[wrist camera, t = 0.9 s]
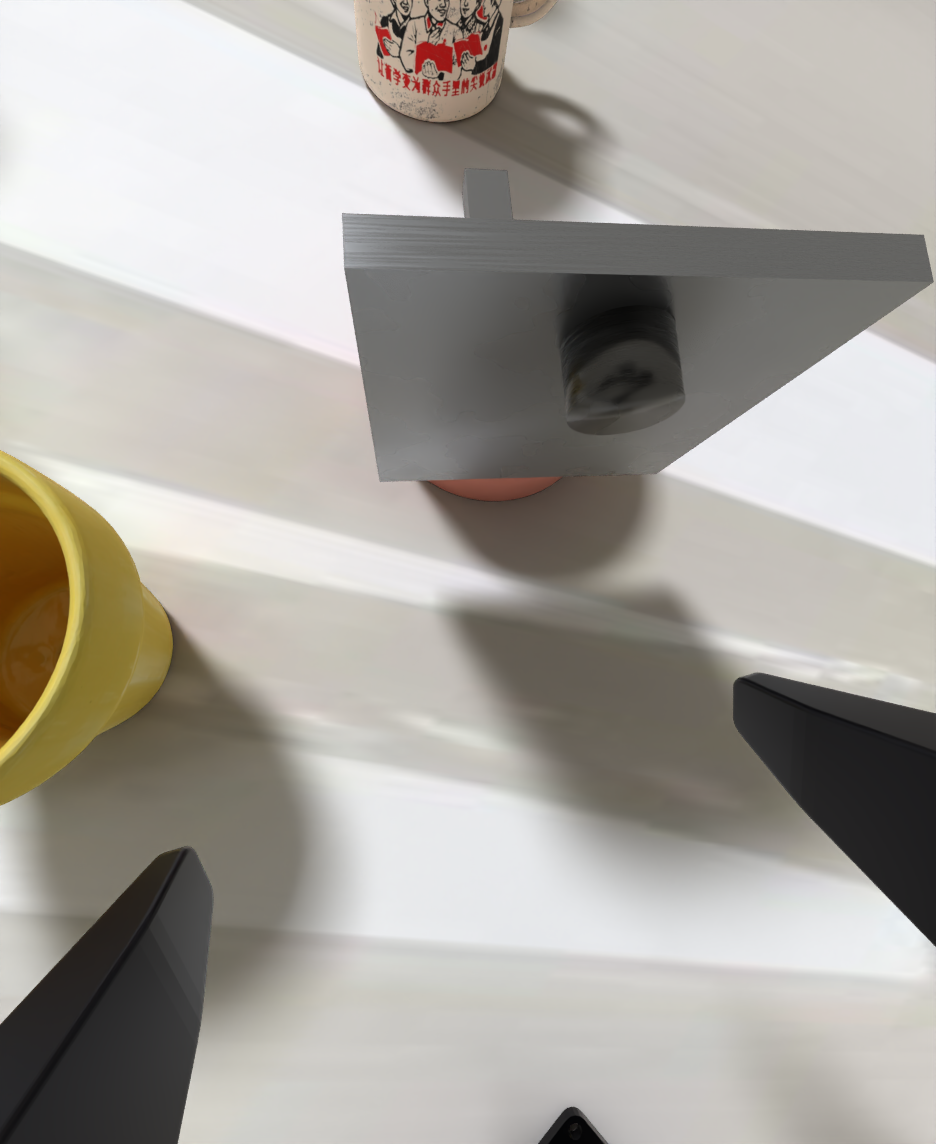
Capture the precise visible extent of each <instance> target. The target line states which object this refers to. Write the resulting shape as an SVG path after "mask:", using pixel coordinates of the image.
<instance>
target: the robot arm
mask: <svg viewBox="0 0 936 1144" xmlns="http://www.w3.org/2000/svg"><path fill="white" fill-rule="evenodd" d="M733 720H734V724H735V726H736V728H737V730H738V732H739V733H740V734H741V736H742V737H743V738H744V739H745V740H746V742H747V743H748V744H749V745H750V747H751V748H752V749H753V750H754V752H755V753H756V754H757V755H758V756H759V758H760V759H761V760H762V761H763V763H764V764H765V765H766V766H767V767H768V769H769V770H770V771H771V772H772V774H773V775H774V776H775V777H776V779H777V780H778V781H779V782H780V783H781V785H782V786H783V787H784V788H785V790H786V791H787V792H788V793H789V794H790V796H791V797H792V798H793V799H794V800H795V801H796V803H797V804H798V805H799V806H800V807H801V808H802V809H803V810H804V812H805V813H806V814H807V815H808V816H809V817H810V818H811V819H812V820H813V821H814V822H815V823H816V824H817V825H818V826H819V827H820V828H821V829H822V830H823V831H824V832H825V833H826V834H827V836H828V837H829V838H830V839H831V840H832V841H833V842H834V843H835V844H836V845H837V846H838V847H839V848H840V849H841V850H842V851H843V852H844V853H845V854H846V855H847V856H848V857H849V858H850V859H851V860H852V861H853V862H854V863H855V864H856V865H857V866H858V867H859V868H860V869H861V871H862V872H863V873H864V874H865V875H866V876H867V877H868V878H869V879H870V880H871V881H872V882H873V883H874V884H875V885H876V886H877V887H878V888H879V889H880V890H881V891H882V892H883V893H884V894H885V895H886V896H887V897H888V898H889V899H890V900H891V901H892V902H893V903H894V904H895V905H896V907H897V908H898V909H899V910H900V911H901V912H902V913H903V914H904V915H905V916H906V917H907V918H908V919H909V920H910V921H911V922H912V923H913V924H914V925H915V926H916V927H917V928H918V929H919V930H920V931H921V932H922V933H923V934H924V935H925V936H926V937H927V938H928V939H929V940H930V941H931V943H932V944H933V945H934V946H935V947H936V713H932V712H927V711H923V710H919V709H915V708H910V707H906V706H902V705H897V704H893V703H889V702H884V701H880V700H876V699H872V698H867V697H863V696H859V695H854V694H850V693H846V692H841V691H837V690H833V689H829V688H824V687H820V686H816V685H811V684H807V683H803V682H798V681H794V680H790V679H786V678H781V677H777V676H773V675H768V674H764V673H753V674H749V675H746V676H743V677H739V678H738V679H736V680H735V682H734V685H733ZM212 912H213V890H212V886H211V884H210V881H209V879H208V877H207V875H206V873H205V871H204V868H203V866H202V864H201V862H200V860H199V858H198V855H197V853H196V852H195V850H194V849H193V848H192V847H188V846H185V847H182V848H178V849H175V850H172V851H169V852H165V853H163V854H161V855H159V856H158V857H157V858H156V859H155V860H154V861H153V862H152V863H151V864H150V865H149V866H148V867H147V868H146V869H145V870H144V871H143V872H142V873H141V874H140V876H139V877H138V878H137V879H136V880H135V881H134V882H133V883H132V884H131V885H130V886H129V887H128V888H127V889H126V890H125V892H124V893H123V894H122V895H121V896H120V897H119V898H118V899H117V900H116V901H115V902H114V903H113V904H112V905H111V907H110V908H109V909H108V910H107V911H106V912H105V913H104V914H103V915H102V916H101V917H100V918H99V919H98V920H97V922H96V923H95V924H94V925H93V926H92V927H91V928H90V929H89V930H88V931H87V932H86V933H85V934H84V935H83V937H82V938H81V939H80V940H79V941H78V942H77V943H76V944H75V945H74V946H73V947H72V948H71V949H70V950H69V951H68V953H67V954H66V955H65V956H64V957H63V958H62V959H61V960H60V961H59V962H58V963H57V964H56V965H55V966H54V968H53V969H52V970H51V971H50V972H49V973H48V974H47V975H46V976H45V977H44V978H43V979H42V980H41V981H40V983H39V984H38V985H37V986H36V987H35V988H34V989H33V990H32V991H31V992H30V993H29V994H28V995H27V996H26V997H25V999H24V1000H23V1001H22V1002H21V1003H20V1004H19V1005H18V1006H17V1007H16V1008H15V1009H14V1010H13V1011H12V1012H11V1014H10V1015H9V1016H8V1017H7V1018H6V1019H5V1020H4V1021H3V1022H2V1023H1V1024H0V1144H178V1139H179V1134H180V1129H181V1124H182V1119H183V1114H184V1109H185V1104H186V1099H187V1094H188V1089H189V1084H190V1079H191V1073H192V1068H193V1063H194V1058H195V1053H196V1048H197V1043H198V1037H199V1031H200V1026H201V1019H202V1011H203V1002H204V993H205V982H206V972H207V962H208V952H209V942H210V932H211V922H212ZM573 1123H577V1124H578V1127H577V1129H576V1130H574V1131H570V1130H569V1128H570V1126H571V1125H572V1124H573ZM538 1144H608V1143H607V1142H606V1141H605V1140H604V1138H603V1137H602V1136H601V1135H600V1134H599V1132H598V1131H597V1130H596V1129H595V1127H594V1126H593V1125H592V1124H591V1123H590V1121H589V1120H588V1119H587V1118H586V1117H585V1115H584V1114H583V1113H582V1112H581V1111H580V1110H579V1109H578V1108H575V1107H569V1108H567V1109H566V1110H564V1111H563V1112H562V1114H561V1115H560V1116H559V1117H558V1119H557V1120H556V1121H555V1123H554V1124H553V1125H552V1127H551V1128H550V1129H549V1130H548V1132H547V1133H546V1134H545V1136H544V1137H543V1138H542V1139H541V1141H540V1142H539V1143H538Z"/></svg>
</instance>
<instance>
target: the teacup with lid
mask: <svg viewBox="0 0 936 1144" xmlns="http://www.w3.org/2000/svg"><path fill="white" fill-rule="evenodd" d="M556 2H557V0H523V1H519V2H513V0H354V9H355V22H356V34H357V46H358V58H359V65H360V69H361V72H362V74H363V77H364V79H365V81H366V83H367V84H368V86H369V87H370V89H371V90H372V91H373V92H374V94H375V95H376V96H377V97H378V98H379V99H380V100H382V101H383V102H384V103H385V104H387V105H388V106H389V107H391V108H393V109H394V110H396V111H398V112H400V113H402V114H404V115H407V116H409V117H412V118H415V119H419V120H424V121H430V122H451V121H457V120H462V119H465V118H468V117H470V116H473V115H475V114H476V113H478V112H480V111H481V110H483V109H484V108H485V107H486V106H487V105H488V104H489V103H490V102H491V101H492V100H493V98H494V97H495V95H496V94H497V92H498V90H499V87H500V84H501V79H502V74H503V67H504V60H505V54H506V47H507V40H508V34H509V28H516V27H523V26H527V25H530V24H532V23H535V22H536V21H538V20H540V19H541V18H542V17H543V16H545V15H546V14H547V13H548V12H549V11H550V9H551V8H552V7H553V6H554V4H555V3H556Z"/></svg>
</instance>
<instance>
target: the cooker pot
mask: <svg viewBox="0 0 936 1144" xmlns="http://www.w3.org/2000/svg"><path fill="white" fill-rule="evenodd" d="M462 195H463V205H464V216H465V218H481V219H508V220H513V216H512V207H511V199H510V190H509V182H508V174H507V170H487V169H467V168H465V172H464V182H463V191H462ZM560 478H562V477H531V478H496V479H460V480H427V481H429V482H430V483H432V484H434V485H436V486H437V487H439V488H441V489H443V490H445V491H448V492H450V493H453V494H455V495H458V496H462V497H466V498H469V499H475V500H482V501H505V500H514V499H518V498H522V497H527V496H529V495H532V494H535V493H537V492H540V491H542V490H543V489H545V488H547V487H549V486H551V485H552V484H554V483H555V482H556V481H558V480H559V479H560Z"/></svg>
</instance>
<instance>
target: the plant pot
mask: <svg viewBox="0 0 936 1144" xmlns="http://www.w3.org/2000/svg"><path fill="white" fill-rule="evenodd" d="M172 651H173V637H172V631H171V626H170V623H169V620H168V617H167V615H166V613H165V611H164V609H163V607H162V606H161V604H160V603H159V601H158V600H157V599H156V598H155V597H154V595H153V594H152V593H151V592H150V591H149V590H148V589H147V588H146V587H145V586H144V585H143V584H142V583H141V582H140V578H139V575H138V572H137V569H136V566H135V563H134V561H133V559H132V557H131V555H130V553H129V551H128V549H127V547H126V546H125V544H124V542H123V541H122V539H121V538H120V536H119V535H118V534H117V532H116V531H115V530H114V529H113V527H112V526H111V525H110V524H109V523H108V522H107V521H106V520H105V519H104V518H103V517H102V516H101V515H100V514H99V513H98V512H97V511H96V510H94V509H93V508H92V507H90V506H89V505H88V504H86V503H85V502H84V501H82V500H81V499H80V498H78V497H77V496H75V495H74V494H73V493H71V492H70V491H68V490H67V489H65V488H64V487H62V486H61V485H59V484H57V483H56V482H54V481H53V480H51V479H50V478H48V477H46V476H45V475H43V474H41V473H40V472H38V471H37V470H35V469H33V468H32V467H30V466H28V465H27V464H25V463H23V462H21V461H20V460H18V459H16V458H15V457H13V456H11V455H9V454H7V453H5V452H3V451H1V450H0V806H1V805H3V804H5V803H8V802H10V801H12V800H14V799H16V798H18V797H19V796H21V795H23V794H25V793H27V792H29V791H30V790H32V789H34V788H35V787H37V786H39V785H40V784H42V783H43V782H45V781H46V780H48V779H49V778H51V777H52V776H53V775H55V774H56V773H57V772H59V771H60V770H61V769H63V768H64V767H65V766H66V765H68V764H69V763H70V762H71V761H72V760H73V759H74V758H75V757H77V756H78V755H79V754H80V753H81V752H82V751H83V750H84V749H85V748H86V747H87V746H88V745H89V744H90V742H91V741H92V740H93V739H94V738H95V737H96V736H97V735H99V734H101V733H103V732H105V731H107V730H109V729H111V728H113V727H115V726H116V725H118V724H120V723H122V722H124V721H125V720H127V719H128V718H130V717H132V716H133V715H134V714H136V713H137V712H138V711H140V710H141V709H142V708H143V707H144V706H145V705H146V704H147V703H148V702H149V701H150V700H151V699H152V698H153V696H154V695H155V694H156V693H157V691H158V690H159V688H160V687H161V685H162V683H163V681H164V679H165V677H166V675H167V672H168V670H169V666H170V663H171V658H172Z"/></svg>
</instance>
